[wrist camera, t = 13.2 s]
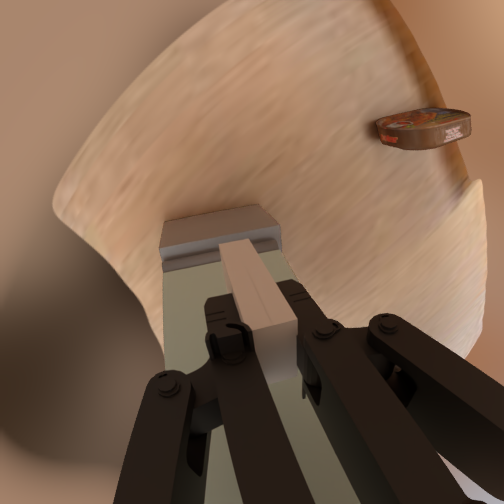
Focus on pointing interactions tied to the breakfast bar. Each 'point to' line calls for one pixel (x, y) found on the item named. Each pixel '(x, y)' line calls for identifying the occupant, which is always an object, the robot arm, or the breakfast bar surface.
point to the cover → (283, 392)
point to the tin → (424, 128)
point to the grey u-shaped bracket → (217, 231)
